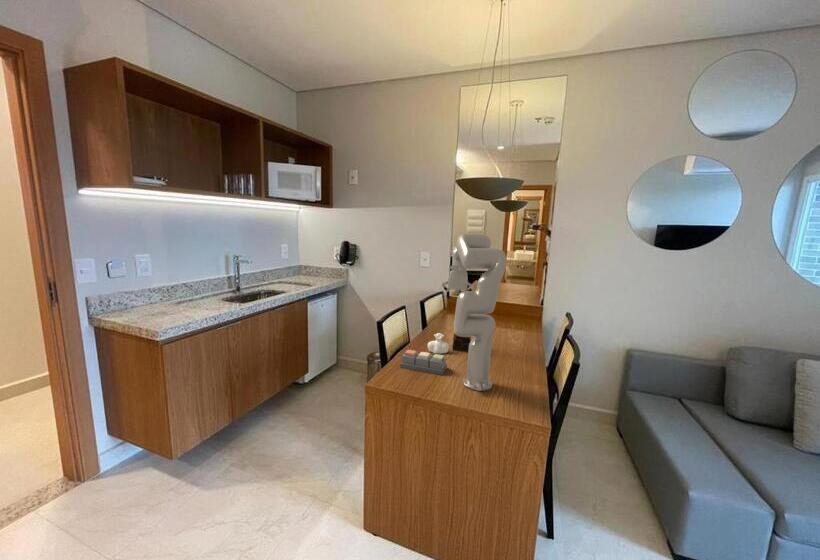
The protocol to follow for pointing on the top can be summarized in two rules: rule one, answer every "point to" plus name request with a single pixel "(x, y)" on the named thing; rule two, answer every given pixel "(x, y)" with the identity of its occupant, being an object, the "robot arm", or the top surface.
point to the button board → (423, 364)
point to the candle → (461, 343)
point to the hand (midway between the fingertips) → (457, 299)
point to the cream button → (424, 355)
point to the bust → (438, 345)
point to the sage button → (438, 358)
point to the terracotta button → (410, 353)
